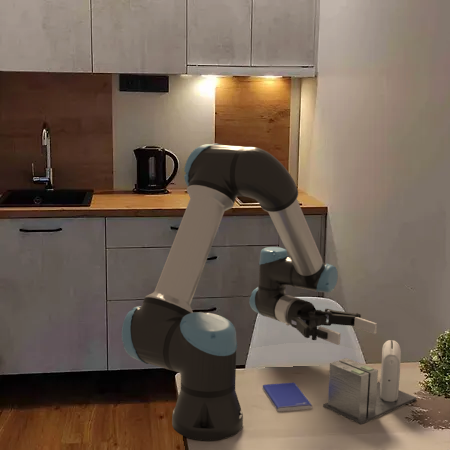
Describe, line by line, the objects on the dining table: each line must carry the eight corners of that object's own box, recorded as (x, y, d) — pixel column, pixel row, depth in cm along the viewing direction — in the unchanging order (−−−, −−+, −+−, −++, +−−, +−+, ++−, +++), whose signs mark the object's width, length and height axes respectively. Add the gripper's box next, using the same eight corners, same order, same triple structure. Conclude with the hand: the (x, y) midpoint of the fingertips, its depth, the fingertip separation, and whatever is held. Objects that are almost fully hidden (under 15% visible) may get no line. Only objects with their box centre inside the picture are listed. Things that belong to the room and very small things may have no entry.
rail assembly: (360, 424, 155) (363, 377, 153) (322, 406, 163) (325, 361, 161) (416, 399, 168) (419, 356, 166) (378, 384, 176) (381, 342, 174)
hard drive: (312, 404, 162) (295, 382, 174) (277, 407, 160) (262, 384, 172) (311, 410, 162) (294, 388, 174) (277, 413, 161) (262, 390, 173)
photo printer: (398, 403, 164) (402, 352, 162) (379, 401, 165) (382, 350, 163) (397, 385, 174) (401, 336, 172) (379, 383, 175) (382, 335, 173)
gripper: (327, 317, 200) (388, 338, 184) (261, 334, 184) (322, 359, 168) (328, 291, 199) (390, 310, 183) (262, 306, 183) (323, 328, 167)
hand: (358, 333), depth 176 cm, fingers open, 13 cm apart
